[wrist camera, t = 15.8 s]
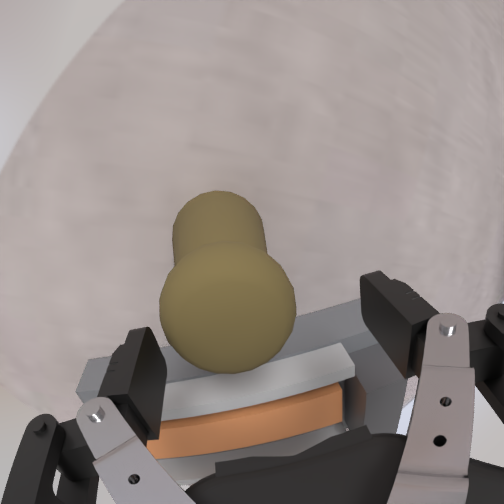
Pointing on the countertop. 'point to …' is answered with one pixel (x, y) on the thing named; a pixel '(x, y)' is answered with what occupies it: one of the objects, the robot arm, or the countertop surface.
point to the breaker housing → (282, 386)
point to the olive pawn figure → (225, 288)
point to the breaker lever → (249, 424)
